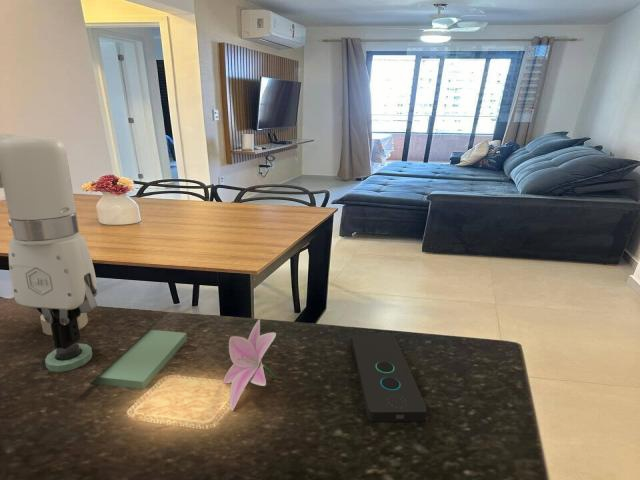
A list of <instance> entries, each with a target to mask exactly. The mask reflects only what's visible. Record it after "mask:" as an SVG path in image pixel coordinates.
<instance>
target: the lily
mask: <svg viewBox="0 0 640 480" xmlns="http://www.w3.org/2000/svg"><path fill="white" fill-rule="evenodd" d="M276 337H277V333H276V332H274V331H273V332H267V333H263V334H261V319H260V318H259V319H258V320H257V321H256V322H255V324H254V325H253V327H252V329H251V331H250V333H249V336H248V338H247V337H243V336H237V335H232V336H231V337H229V339H228V351H229V353H228V354H229V356H230V361H231V362H232V363H233V364H232V365H231V366H230V367H229V369H228V370H227V372H226V374H225V376H224V378H223V380H222V382H223V384H230V383H231V385H230V391H229V409H230V412H233V411H234V409H235V408H236V406H237V403H238V402H239V400H240V397H241V395H242V393H243V391H244V390H245V388H246V386H247V385H248V383H249V382H250V383H251V384H253V385H256V386H262V387H265V386H266V385H267V379H266V376H265V370H266V371H267V372H268V374H270V376H271V377H272V378H273V379H274V380H276V379H277V377H276V376H275V374H274V373H273V372H272V371H271V370H270V369H269V368H268V367H267V366H266V365H264V364H263V361H262V359H263V357H264V355H265V354H266V352H267V350H268V349H269V348H270V346H271V345H272V343H273V341H274V340H275V338H276Z"/></svg>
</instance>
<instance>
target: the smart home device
mask: <svg viewBox="0 0 640 480" xmlns="http://www.w3.org/2000/svg"><path fill="white" fill-rule="evenodd" d="M350 341H351V342H350V345H351V351H352V355H353V360H354V365H355V369H356V373H357V378H358V382H359V387H360V391H361V395H362V400H363V403H364V404H363V405H364V408H365V414H366V417H367V419H368V420H369V422H371V423H373V422H374V423H390V422H391V423H394V422H395V423H397V422H401V423H402V422H405V423H406V422H408V423H409V422H410V423H411V422H425V421H426V417H427V410H428V408H427V405H426V403H425V400H424V399H423V397H422V394H421V391H420V389H419V387H418V385H417V383H416V380H415V378H414V376H413V373H412V371H411V369H410V367H409V364H408V362H407V360H406V357H405V356H404V353H403V351H402V349H401V346H400V344H399V342H398V340H397V337H396V336H395V335H394V334H392V333H352V334H351V340H350Z"/></svg>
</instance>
